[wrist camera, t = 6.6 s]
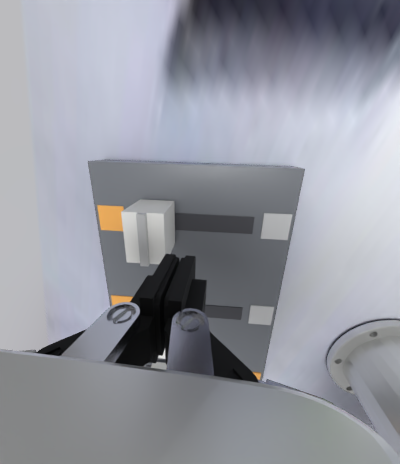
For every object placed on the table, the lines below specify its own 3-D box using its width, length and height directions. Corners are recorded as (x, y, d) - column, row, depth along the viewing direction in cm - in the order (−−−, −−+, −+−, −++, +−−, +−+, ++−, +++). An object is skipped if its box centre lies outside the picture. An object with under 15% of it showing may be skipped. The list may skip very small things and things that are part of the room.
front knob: (174, 200, 18) (162, 215, 14) (175, 243, 20) (164, 267, 15) (140, 199, 18) (118, 213, 14) (143, 241, 20) (124, 265, 16)
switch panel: (292, 166, 20) (305, 168, 17) (253, 381, 30) (257, 406, 28) (105, 159, 21) (87, 161, 18) (132, 370, 31) (123, 392, 29)
